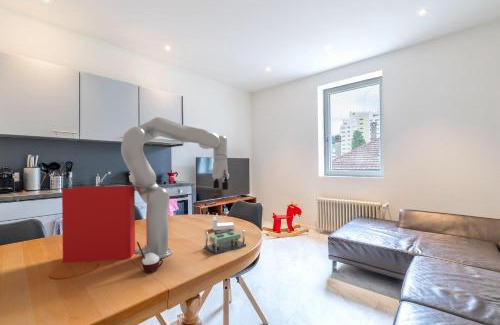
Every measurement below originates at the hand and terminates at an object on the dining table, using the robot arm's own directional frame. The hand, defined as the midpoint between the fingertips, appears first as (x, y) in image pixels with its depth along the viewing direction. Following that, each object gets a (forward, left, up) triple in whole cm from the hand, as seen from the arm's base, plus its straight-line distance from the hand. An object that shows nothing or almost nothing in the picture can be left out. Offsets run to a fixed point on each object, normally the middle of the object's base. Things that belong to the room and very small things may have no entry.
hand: (220, 188), depth 128 cm
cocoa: (-41, -15, -28) cm, 52 cm away
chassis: (-4, -11, -28) cm, 31 cm away
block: (+2, +2, -28) cm, 28 cm away
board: (-4, -11, -24) cm, 27 cm away
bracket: (+12, +17, -29) cm, 36 cm away
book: (-55, +13, -28) cm, 63 cm away
